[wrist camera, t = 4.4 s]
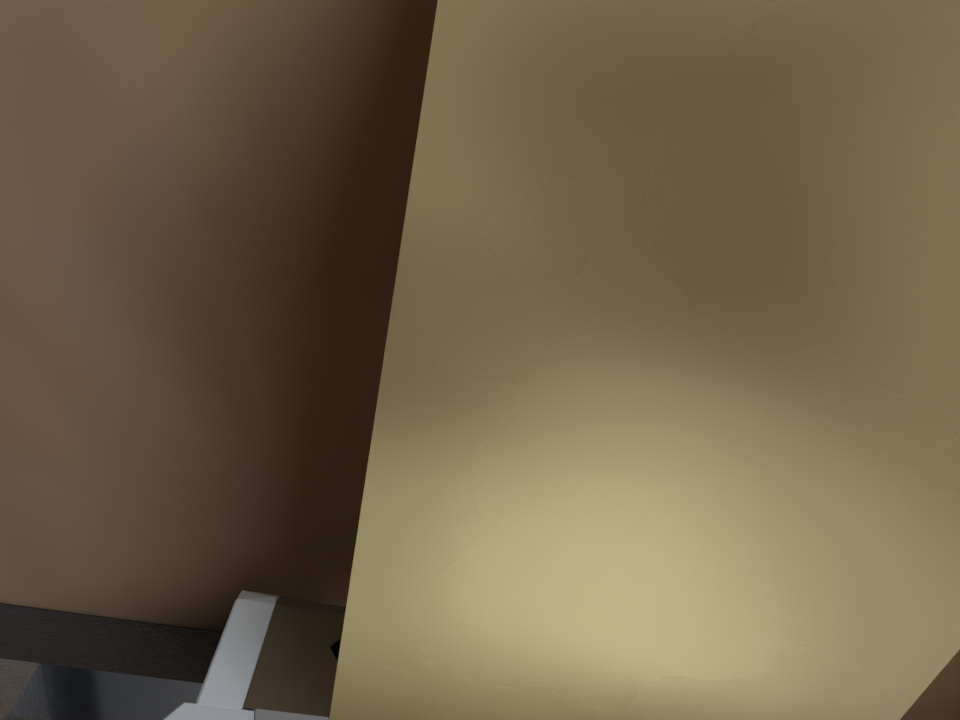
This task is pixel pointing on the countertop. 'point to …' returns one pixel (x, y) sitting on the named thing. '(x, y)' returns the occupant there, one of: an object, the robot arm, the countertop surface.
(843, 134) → the brass block
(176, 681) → the vise bed
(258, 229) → the countertop surface
